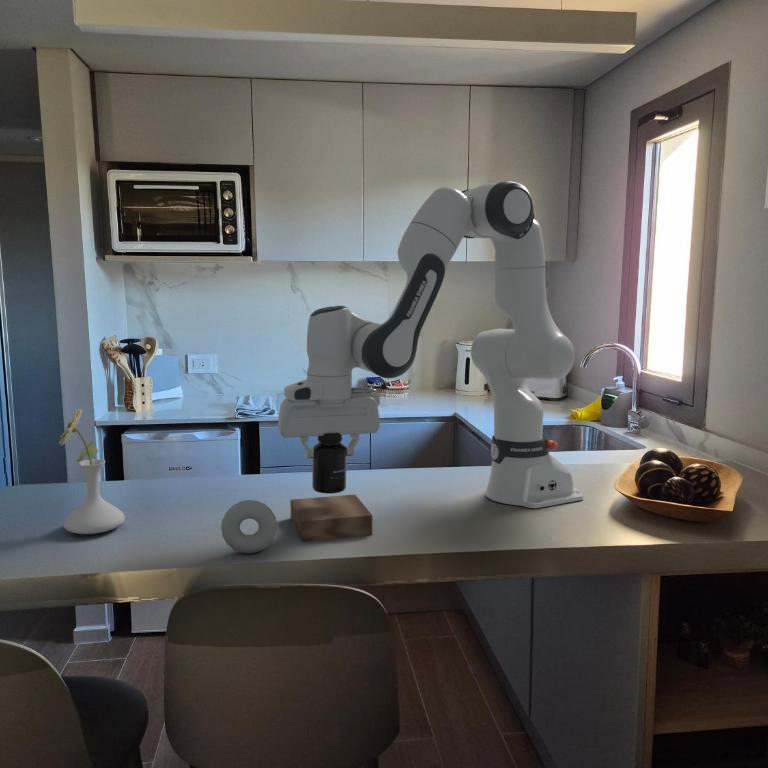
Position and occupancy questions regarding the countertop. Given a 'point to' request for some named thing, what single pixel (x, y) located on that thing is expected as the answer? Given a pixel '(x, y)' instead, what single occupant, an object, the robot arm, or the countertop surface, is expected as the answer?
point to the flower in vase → (90, 492)
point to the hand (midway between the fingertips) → (329, 456)
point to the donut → (249, 511)
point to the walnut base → (330, 517)
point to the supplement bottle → (329, 464)
